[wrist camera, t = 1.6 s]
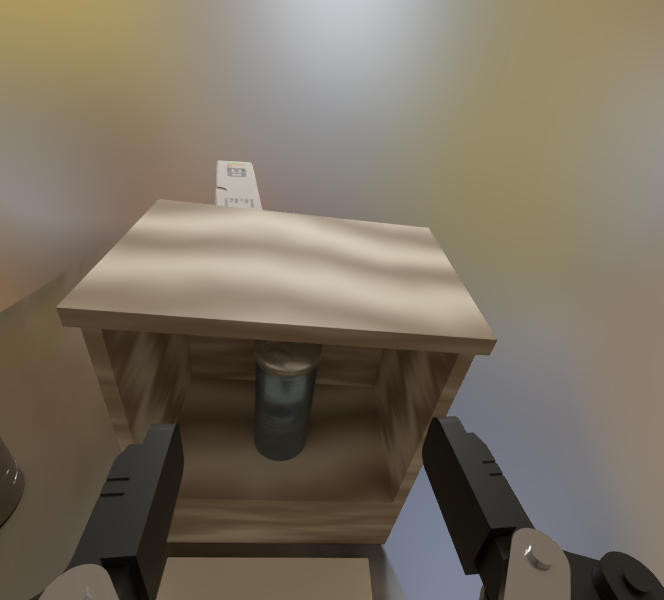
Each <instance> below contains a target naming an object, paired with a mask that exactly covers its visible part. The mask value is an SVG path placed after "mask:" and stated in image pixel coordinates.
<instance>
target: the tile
mask: <svg viewBox="0 0 664 600" xmlns="http://www.w3.org/2000/svg"><path fill="white" fill-rule="evenodd" d="M156 600H373V598H372V589H371V579H370V570H369V561H368V558H198V557H168V558H167V561H166V565H165V569H164V572H163V576H162V579H161V583H160V587H159V590H158V594H157V597H156Z"/></svg>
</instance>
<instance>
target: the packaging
mask: <svg viewBox="0 0 664 600" xmlns="http://www.w3.org/2000/svg"><path fill="white" fill-rule="evenodd" d="M216 177H217V178H216V205H218V206H227V207H236V208H246V209H255V210H262V207H261V202H260V197H259V193H258V188H257V184H256V179H255V175H254V170H253V166H252V163H250V162H234V161H219V160H218V161H217V176H216Z"/></svg>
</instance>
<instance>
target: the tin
mask: <svg viewBox="0 0 664 600" xmlns="http://www.w3.org/2000/svg"><path fill="white" fill-rule="evenodd" d="M321 352H322V344H314V343H300V342H285V341H271V340H255V359H256V377H255V425H254V442H255V446H256V448H257V450H258V451H259V453H260V454H261V455H263V456H264V457H266V458H267V459H270V460H273V461H286V460H290V459H292V458H294V457H296V456H297V455H299V454H300V453H301V452H302V450H303V449H304V447H305V444H306V440H307V434H308V427H309V421H310V414H311V408H312V402H313V395H314V389H315V382H316V376H317V369H318V364H319V362H320V358H321Z"/></svg>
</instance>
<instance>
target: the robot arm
mask: <svg viewBox="0 0 664 600" xmlns="http://www.w3.org/2000/svg"><path fill="white" fill-rule="evenodd" d="M422 460H423V465H424V468H425V470H426V473H427V476H428V478H429V481H430V483H431V486H432V489H433V491H434V494H435V497H436V499H437V502H438V504H439V507H440V510H441V512H442V515H443V518H444V520H445V523H446V525H447V528H448V531H449V533H450V536H451V538H452V541H453V544H454V546H455V549H456V552H457V554H458V557H459V559H460V562H461V565H462V567H463V570H464V572H465V575H471V574H479V575H480V577H481V580H482V582H483V586H482V589H481V593H480V598H479V600H664V587H663V586H662V585H661V583H660V582H659V581H658V579H657V578H656V577H655V575H654V574H653V573H652V572H651V571H650V570H649V569H648V568H646V567H645V566H644V565H643V564H642V563H641V562H639V561H638V560H636V559H635V558H633V557H631V556H629V555H627V554H624V553H621V552H615V551H613V552H608V553H606V554H605V555H604V556H603V557H602V558H601V560H600V561H599V560H595V559H592V558H588V557H585V556H581V555H577V554H574V553H570V552H567V551H564V550H562V549H561V548H560V547H559V546H558V545H557V543H556V542H555V541H553V540H552V539H551V538H550V537H549V536H547V535H546V534H544V533H542V532H540V531H538V530H536V529H535V528H534V526H533V525H532V523H531V521H530V520H529V518H528V516H527V515H526V513H525V511H524V510H523V508H522V506H521V504H520V502H519V501H518V499H517V497H516V496H515V494H514V492H513V490H512V489H511V487H510V485H509V484H508V482H507V480H506V478H505V477H504V476H503V475H502V471H501V470H500V468H499V466H498V464H496V463H495V459H494V457H493V456H492V454H491V452H490V450H489V449H488V447H487V445H486V444H484V442H482V441H481V440H480V439H479V438H478V437H477V436H476V435H475V434H474V433H466V431H465V429H464V427H463V425H462V423H461V422H460V420H459V419H458V418H457V417H455V416H454V417H433V418H432V420H431V422H430V425H429V428H428V431H427V435H426V438H425V441H424V444H423V447H422ZM183 469H184V453H183V447H182V440H181V433H180V427H179V424H178V423H175V424H151V425H150V427H149V429H148V431H147V434H146V436H145V439H144V442H143V444H129V445H128V446H127V447H126V448H125V449H124V451H123V452H122V453H121V454H120V455H119V456H118V457H117V458H116V459H115V461H114V463H113V465H112V468H111V470H110V472H109V475H108V477H107V481H106V482H105V484H104V486H103V488H102V491H101V493H100V497H99V498H98V500H97V502H96V504H95V507H94V509H93V511H92V514H91V516H90V518H89V521H88V523H87V525H86V528H85V530H84V532H83V534H82V537H81V539H80V541H79V544H78V546H77V548H76V551H75V553H74V555H73V557H72V559H71V561H70V563H69V565H68V566H67V568H66V569H65V571H64V572H63V573H62V574H61V575H60V576H59V577H57V578H56V579H55V580H54V581H53V582H52V583H51V584H50V585H49V586H48V587H47V588H46V590H44V591H43V592H41V593H40V594H38V595H37V596H35V597H33V598H32V599H30V600H153V596H154V592H155V588H156V583H157V579H158V575H159V571H160V567H161V563H162V559H163V555H164V550H165V546H166V542H167V538H168V534H169V530H170V526H171V522H172V518H173V513H174V509H175V505H176V501H177V497H178V493H179V489H180V485H181V481H182V476H183ZM23 489H24V476H23V473H22V471H21V469H20V468H19V466H18V463H17V462H16V460H15V459H14V457H13V456H12V455H11V453H10V452H9V450H8V448H7V447H6V445H5V443H4V442H3V440H2V439H1V437H0V525H1V524H2V523H3V522H4V521H5V520H6V519H7V518H8V517H9V516H10V514H11V513H12V512H13V510H14V509H15V507H16V506H17V504H18V502H19V500H20V498H21V496H22V494H23Z"/></svg>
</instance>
